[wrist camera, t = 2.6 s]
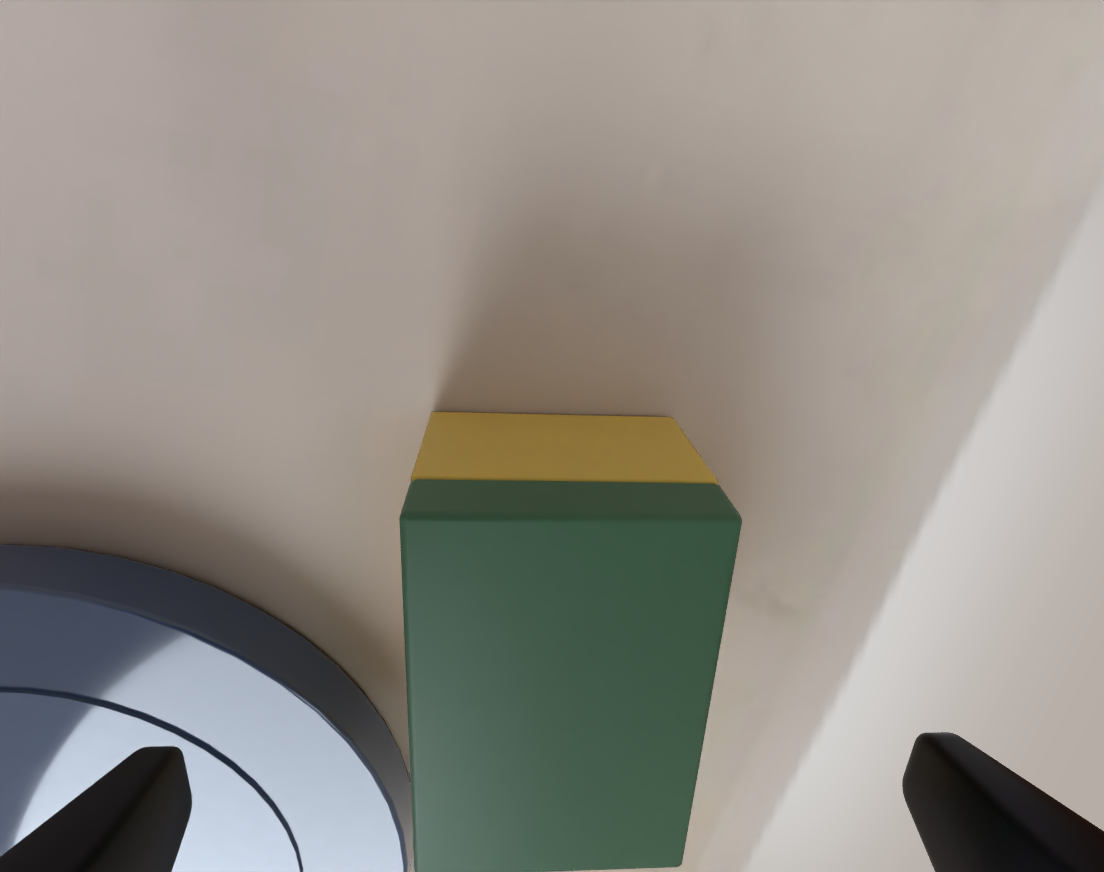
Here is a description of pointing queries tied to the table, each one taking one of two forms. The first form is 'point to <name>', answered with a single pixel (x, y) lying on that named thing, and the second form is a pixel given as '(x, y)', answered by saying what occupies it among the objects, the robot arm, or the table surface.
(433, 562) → the sponge
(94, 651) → the plate
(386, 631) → the table surface
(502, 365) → the table surface
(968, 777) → the robot arm
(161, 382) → the table surface
